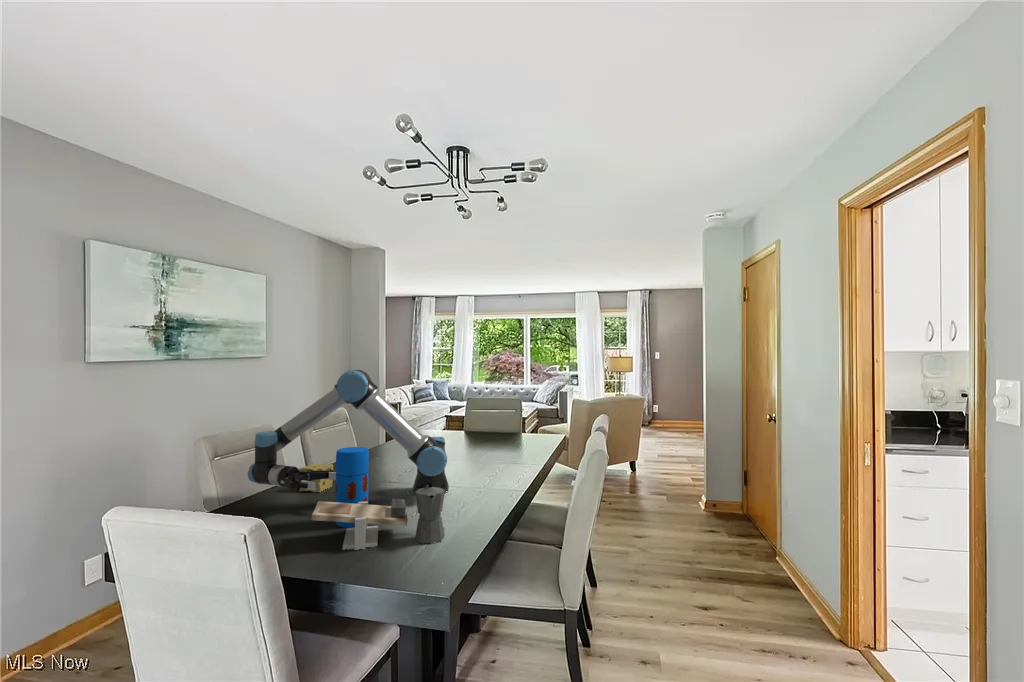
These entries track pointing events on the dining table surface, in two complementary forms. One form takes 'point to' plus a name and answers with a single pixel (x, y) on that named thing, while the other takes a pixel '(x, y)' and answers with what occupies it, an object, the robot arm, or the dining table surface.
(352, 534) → the fulcrum
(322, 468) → the cheese
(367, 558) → the dining table surface
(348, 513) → the beam
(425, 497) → the coffeepot
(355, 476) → the thermos
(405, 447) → the robot arm
